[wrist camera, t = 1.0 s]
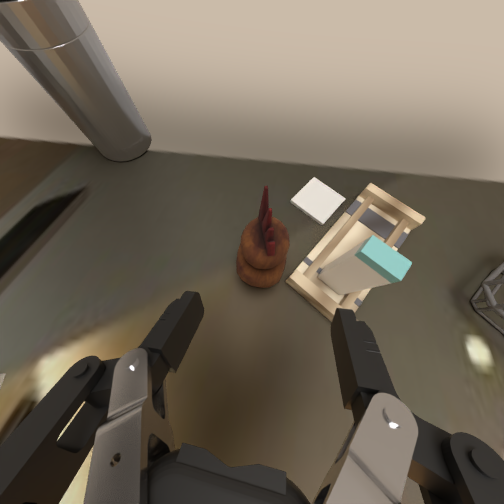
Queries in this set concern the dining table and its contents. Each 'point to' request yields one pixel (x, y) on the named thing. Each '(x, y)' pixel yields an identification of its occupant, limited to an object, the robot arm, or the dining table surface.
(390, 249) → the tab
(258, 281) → the wooden figurine
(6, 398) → the dining table surface
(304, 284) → the light wooden tray
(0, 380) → the hard drive
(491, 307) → the geometric lantern
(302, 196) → the pad
